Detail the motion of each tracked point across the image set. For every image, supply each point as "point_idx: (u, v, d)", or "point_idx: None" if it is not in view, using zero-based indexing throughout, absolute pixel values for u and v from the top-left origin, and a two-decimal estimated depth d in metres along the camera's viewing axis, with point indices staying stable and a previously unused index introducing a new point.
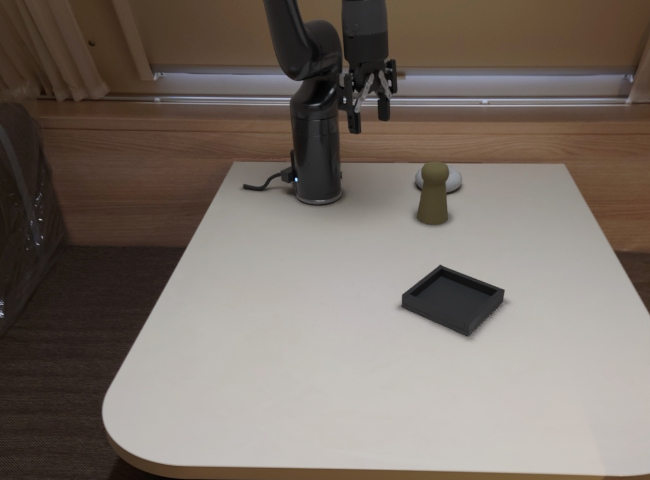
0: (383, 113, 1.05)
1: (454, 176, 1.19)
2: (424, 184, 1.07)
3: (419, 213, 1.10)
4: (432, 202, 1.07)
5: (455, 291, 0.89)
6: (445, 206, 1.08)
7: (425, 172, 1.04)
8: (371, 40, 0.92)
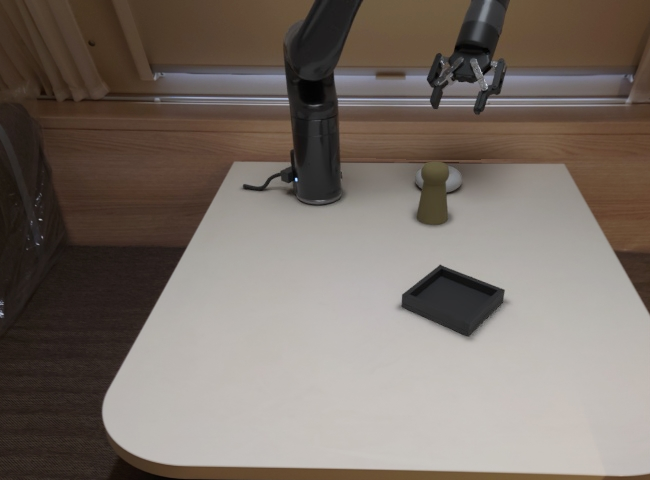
0: (438, 101, 1.10)
1: (454, 176, 1.19)
2: (424, 184, 1.07)
3: (419, 213, 1.10)
4: (432, 202, 1.07)
5: (455, 291, 0.89)
6: (445, 206, 1.08)
7: (425, 172, 1.04)
8: None
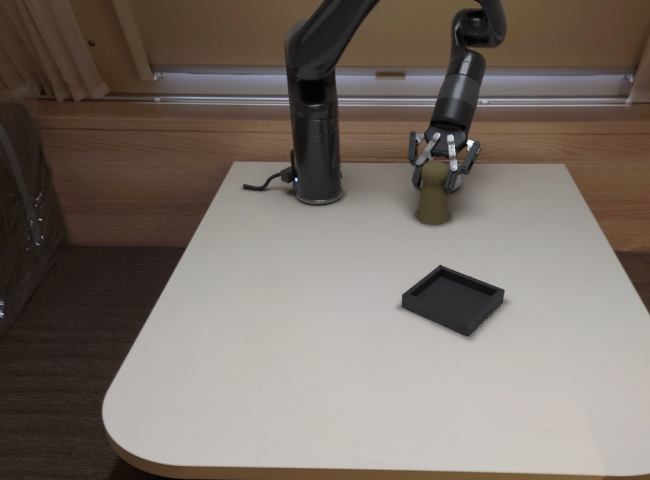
0: (420, 180, 1.07)
1: None
2: (424, 184, 1.07)
3: (419, 213, 1.10)
4: (432, 202, 1.07)
5: (455, 291, 0.89)
6: (445, 206, 1.08)
7: (425, 172, 1.04)
8: None
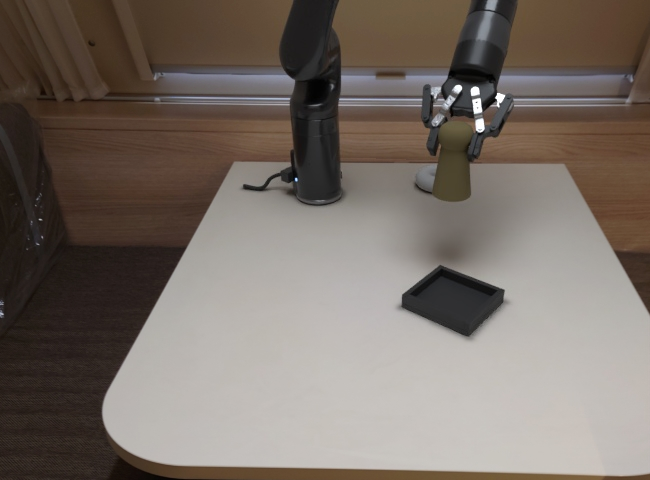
0: (436, 146, 0.85)
1: None
2: (442, 150, 0.85)
3: (435, 187, 0.88)
4: (452, 172, 0.85)
5: (455, 291, 0.89)
6: (468, 178, 0.87)
7: (444, 134, 0.82)
8: None
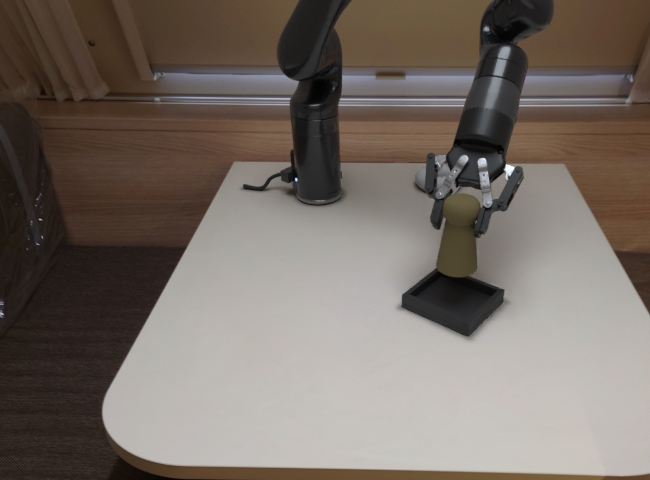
0: (441, 219, 0.80)
1: None
2: (447, 224, 0.79)
3: (440, 261, 0.83)
4: (457, 248, 0.80)
5: (455, 291, 0.89)
6: (474, 252, 0.81)
7: (449, 209, 0.77)
8: None
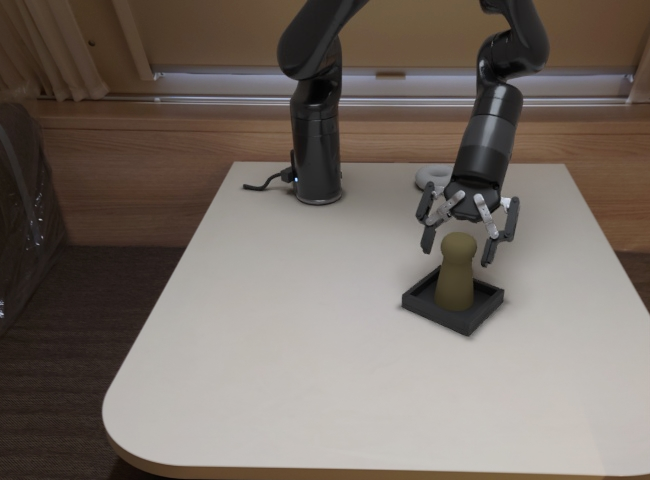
0: (431, 244, 0.84)
1: None
2: (444, 261, 0.83)
3: (437, 295, 0.86)
4: (454, 284, 0.83)
5: None
6: (471, 288, 0.85)
7: (447, 248, 0.81)
8: None
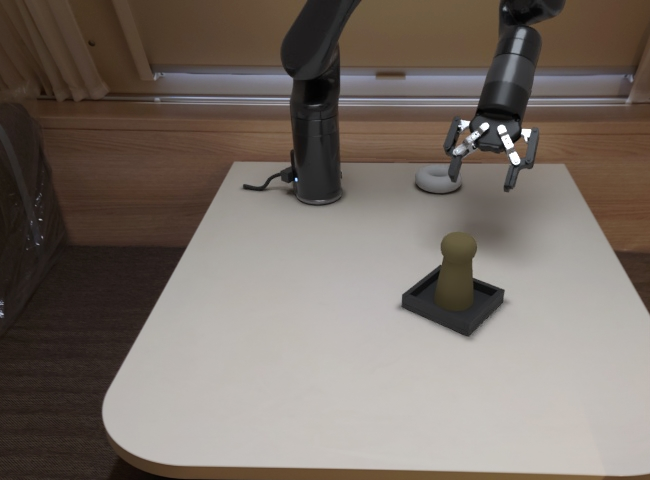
0: (457, 173, 0.92)
1: None
2: (444, 261, 0.83)
3: (437, 295, 0.86)
4: (454, 284, 0.83)
5: None
6: (471, 288, 0.85)
7: (447, 248, 0.81)
8: None
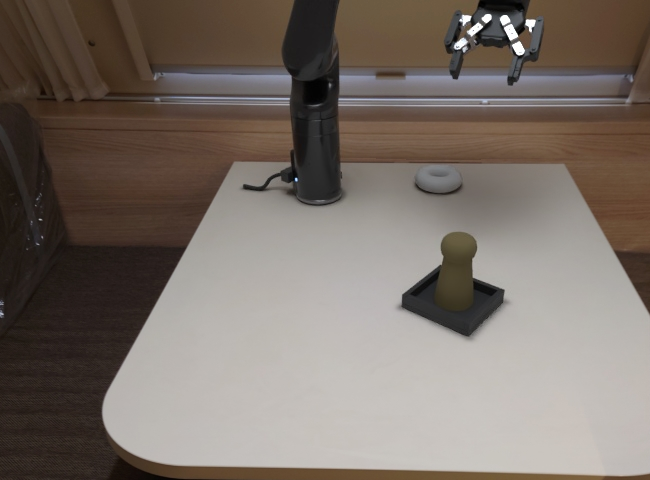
0: (458, 69, 0.88)
1: (454, 176, 1.19)
2: (444, 261, 0.83)
3: (437, 295, 0.86)
4: (454, 284, 0.83)
5: None
6: (471, 288, 0.85)
7: (447, 248, 0.81)
8: None
